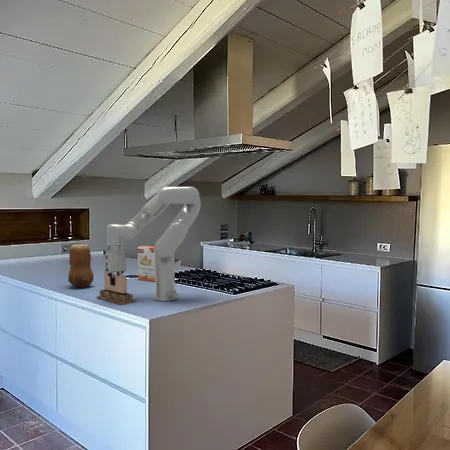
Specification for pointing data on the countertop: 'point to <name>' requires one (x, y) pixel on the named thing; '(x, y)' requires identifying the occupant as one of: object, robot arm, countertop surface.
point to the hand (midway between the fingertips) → (115, 284)
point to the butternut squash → (80, 266)
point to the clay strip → (116, 283)
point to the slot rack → (116, 297)
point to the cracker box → (146, 263)
